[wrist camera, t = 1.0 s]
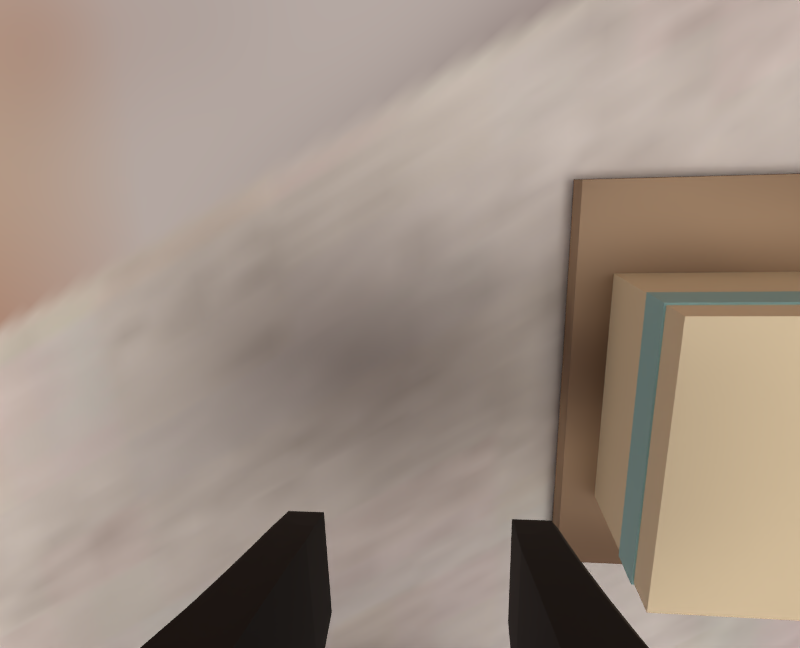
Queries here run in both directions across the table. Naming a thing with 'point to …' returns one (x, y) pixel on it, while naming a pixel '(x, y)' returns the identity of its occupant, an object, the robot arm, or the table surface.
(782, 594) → the carton
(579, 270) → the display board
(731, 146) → the table surface
